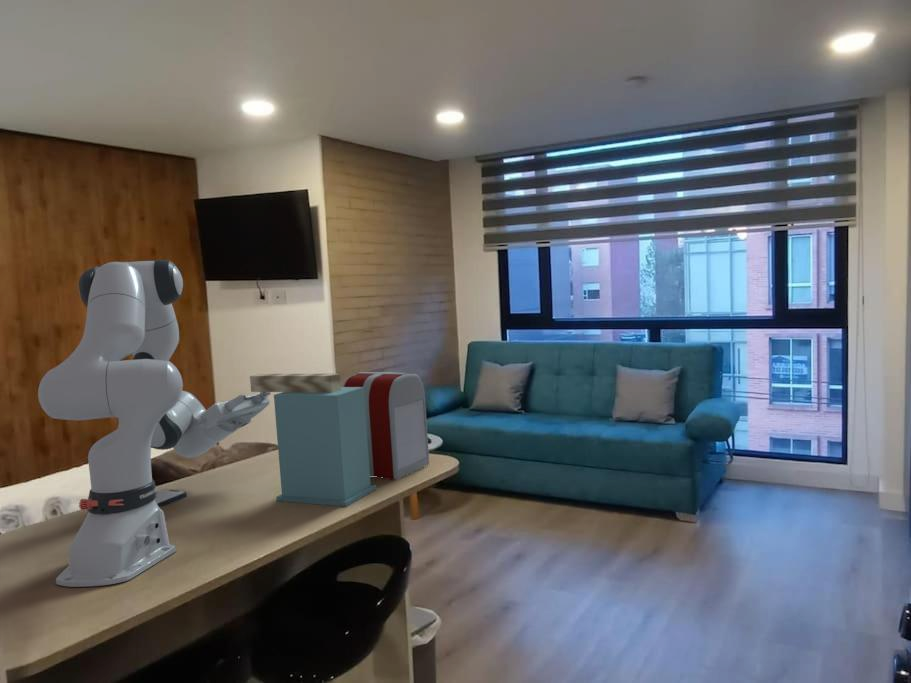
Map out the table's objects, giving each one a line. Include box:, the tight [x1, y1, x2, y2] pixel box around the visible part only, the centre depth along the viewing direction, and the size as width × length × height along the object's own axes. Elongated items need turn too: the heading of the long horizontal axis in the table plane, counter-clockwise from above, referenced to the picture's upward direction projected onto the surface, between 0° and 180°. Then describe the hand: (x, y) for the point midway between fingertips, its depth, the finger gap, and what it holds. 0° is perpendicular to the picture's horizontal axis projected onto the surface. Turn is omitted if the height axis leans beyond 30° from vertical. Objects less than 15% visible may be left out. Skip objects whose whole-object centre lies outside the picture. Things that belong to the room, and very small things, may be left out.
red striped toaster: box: [342, 371, 430, 480], centre depth 195 cm, size 16×18×27 cm
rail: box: [249, 373, 342, 393], centre depth 175 cm, size 24×4×4 cm, turn 67°
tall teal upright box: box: [273, 386, 377, 507], centre depth 174 cm, size 20×14×26 cm
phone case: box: [155, 488, 188, 508], centre depth 176 cm, size 9×2×16 cm
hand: (256, 393), depth 180 cm, fingers open, 8 cm apart
